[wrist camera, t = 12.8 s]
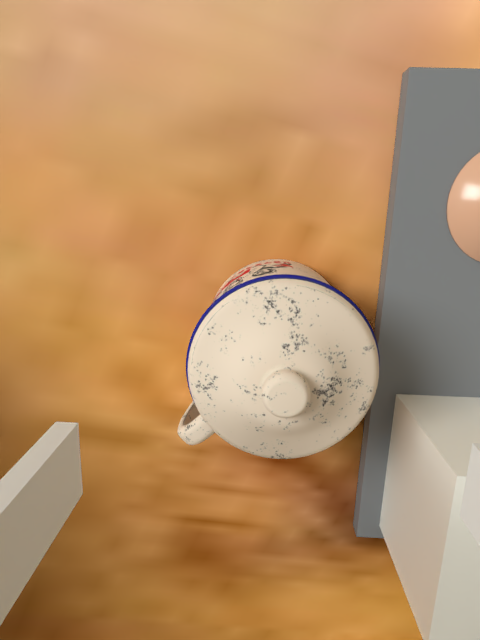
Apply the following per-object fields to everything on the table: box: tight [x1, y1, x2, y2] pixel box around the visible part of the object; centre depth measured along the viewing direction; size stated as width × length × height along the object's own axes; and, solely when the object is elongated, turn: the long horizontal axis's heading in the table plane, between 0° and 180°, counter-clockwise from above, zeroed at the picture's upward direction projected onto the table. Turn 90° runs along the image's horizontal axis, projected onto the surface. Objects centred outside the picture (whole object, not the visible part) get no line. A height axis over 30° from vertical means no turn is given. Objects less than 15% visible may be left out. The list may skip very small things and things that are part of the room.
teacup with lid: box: [178, 259, 380, 459], centre depth 24 cm, size 12×9×12 cm
